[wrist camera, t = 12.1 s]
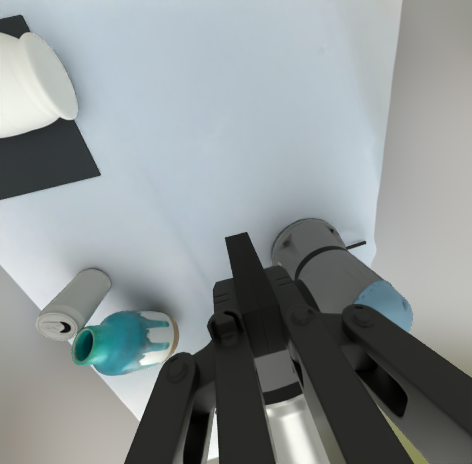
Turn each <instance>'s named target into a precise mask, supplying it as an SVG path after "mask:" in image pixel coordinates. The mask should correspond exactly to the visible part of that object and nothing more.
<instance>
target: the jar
mask: <svg viewBox="0 0 472 464" xmlns="http://www.w3.org/2000/svg"><path fill="white" fill-rule="evenodd" d="M77 113H78V104H77V99H76V95H75V91H74V89H73V86H72V83H71V81H70V79H69V77H68V75H67V73H66V71H65V69H64V67H63V65H62V63H61V62H60V60H59V59H58V57H57V56H56V54H55V53H54V52H53V50H52V49H51V48H50V47H49V45H48V44H47V43H46V42H45V41H44V40H43V39H42V38H40V37H39V36H37V35H36V34H34V33H30V32H27V33H24V34H23V35H22V36H21V37H20V39H18V38H15V37H13V36H10V35H7V34H4V33H1V32H0V138H5V137H11V136H15V135H19V134H23V133H26V132H29V131H31V130H35V129H39V128H42V127H45V126H47V125H49V124H51V123H53V122H54V121H56V120H57V119H58V118H59V117H61V118H63V119H66V120H73V119H75V118H76V116H77Z"/></svg>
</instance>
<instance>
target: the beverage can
mask: <svg viewBox="0 0 472 464" xmlns="http://www.w3.org/2000/svg"><path fill="white" fill-rule="evenodd" d="M110 287H111V282H110V279H109V278H108V276H107V275H106V274H104V273H103V272H101V271H98V270H94V269H87V270H84V271H82V272H80V273H79V274H78V275H77V276H76V277H75V278H74V279H73V280H72V281H71V282H70V283H69V284H68V285H67V286H66V287H65V288H64V289H63V290H62V291H61V292H60V293H59V294H58V295H57V296H56V297H55V298H54V299H53V300H52V301H51V302H50V303H49V304H48V305H47V306H46V307H45V308H44V309H43V310H42V311H41V312H40V315H39V318H38V319H37V321H36V328H37V330H38V331H39V333H40V334H42V335H43V336H45V337H47V338H49V339H52V340H57V341H63V340H68V339H71V338H73V337H74V336H75V335H76V334H77V333H78V332H79V331H80V330H81V329H83V328H84V326H85V325H86V323H87V322H88V320H89V319H90V317H91V316H92V315H93V313H94V312H95V310H96V309H97V307H98V306H99V304H100V303H101V301H102V300H103V298H104V297H105V295H106V294H107V292H108V291H109V289H110Z"/></svg>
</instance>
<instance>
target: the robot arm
mask: <svg viewBox="0 0 472 464" xmlns="http://www.w3.org/2000/svg"><path fill="white" fill-rule="evenodd" d="M225 241H226V245H227V250H228V255H229V259H230V264H231V269H232V274H233V278H230V279H226V280H223V281H219V282H216V284H215V286H214V288H213V298H214V299H213V302H214V314H213V315H212V316H211V318H210V319H209V321H208V325H207V328H208V331H209V333H210V336H211V338H212V340H211V342H210V343H209V344H208V345H207V346H206V347H205V348H203V349H202V350H200V351H199V352H197V353H195V354H194V355H191V354H190V353H186V352H181V353H177V354H175V355H174V356H172V357H170V358H169V359H168V360H167V361H166V362H165V363H164V365H163V367H162V368H161V370H160V372H159V375H158V378H157V380H156V383H155V385H154V388H153V390H152V393H151V396H150V398H149V401H148V403H147V406H146V408H145V411H144V414H143V416H142V419H141V421H140V424H139V426H138V429H137V432H136V434H135V437H134V439H133V442H132V444H131V447H130V450H129V452H128V455H127V457H126V460H125V463H124V464H207V458H208V451H209V444H210V437H211V431H212V424H213V417H214V411H215V408H216V410H217V429H218V448H219V464H414V463H413V461H412V460H411V458H410V457H409V455H408V453H407V452H406V450H405V449H404V447H403V446H402V444H401V443H400V441H399V439H398V438H397V436H396V435H395V433H394V431H393V430H392V428H391V427H390V425H389V424H388V422H387V421H386V419H385V417H384V416H383V414H382V413H381V411H380V410H379V408H378V407H377V405H378V406H379V407H380V408H381V409H382V411H383V412H384V413H385V414H386V415H387V416H388V417H389V418H390V419H391V421H392V422H393V423H394V424H395V425H396V426H397V427H398V428H399V430H400V431H401V432H402V433H403V434H404V435H405V436H406V437H407V439H408V440H409V441H410V442H411V443H412V444H413V445H414V446H415V447H416V449H417V450H418V451H419V452H420V453H421V454H422V455H423V456H424V458H425V459H426V460H427V461H428V462H429V463H430V464H472V378H471V377H470V376H468V375H467V374H465V373H464V372H463V371H461V370H460V369H458V368H457V367H455V366H454V365H453V364H451V363H450V362H449V361H447V360H446V359H444V358H443V357H441V356H440V355H439V354H437V353H436V352H435V351H433V350H432V349H430V348H429V347H427V346H426V345H425V344H423V343H422V342H420V341H419V340H418V339H416V338H415V337H413V336H412V335H411V334H409V331H410V329H411V326H412V321H413V313H412V309H411V306H410V304H409V303H408V301H407V300H406V299H405V298H404V297H403V296H402V295H401V294H400V293H399V292H398V291H396V290H395V288H393V287H392V285H391V284H390V283H389V282H388V281H386V280H384V279H382V278H381V277H380V276H379V275H377V274H376V273H375V272H374V271H372V270H371V269H370V268H369V267H367V266H366V265H365V264H364V263H362V262H361V261H360V260H359V259H357V258H356V257H355V256H354V255H352V254H351V253H350V252H349V251H347V250H348V249H352V248H355V247H358V246H361V245H364V244H366V241H363V242H360V243H357V244H354V245H351V246H347V247H345V245H344V243H343V241H342V239H341V237H340V235H339V233H338V232H337V231H336V230H335V229H334V228H333V227H332V226H331V225H329V224H328V223H327V222H325V221H322V220H319V219H304V220H300V221H297V222H295V223H293V224H291V225H290V226H288V227H287V228H286V229H284V230H283V231H282V232H281V233H280V235H279V236H278V237H277V239H276V241H275V243H274V245H273V248H272V262H273V265H274V266H273V267H269V268H265V269H263V267H262V264H261V262H260V260H259V258H258V255H257V253H256V251H255V249H254V246H253V244H252V242H251V240H250V238H249V235H248V233H247V232H245V233H241V234H237V235H233V236H229V237H225ZM376 404H377V405H376Z"/></svg>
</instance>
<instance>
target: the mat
mask: <svg viewBox="0 0 472 464" xmlns="http://www.w3.org/2000/svg"><path fill="white" fill-rule="evenodd" d="M0 32H1V33H4V34H7V35H10V36H13V37H15V38H18V39H20V37H21V36H22V35H23V34H24V33H27V32H30V31H29V28H28V26H27V24H26V22H25V20H24V18H23V16H22V15H18V16H13V17H8V18H3V19H0ZM100 175H101V174H100V172H99V170H98V168H97V166H96V164H95V162H94V160H93V158H92V156H91V154H90V152H89V150H88V148H87V146H86V144H85V142H84V140H83V138H82V136H81V134H80V132H79V130H78V128H77V126H76V124H75V122H74V120H66V119H63V118H61V117H59V118H58V119H57V120H56V121H54V122H53V123H51V124H49V125H47V126H45V127H42V128H39V129H35V130H31V131H29V132H26V133H23V134H19V135H15V136H11V137H5V138H0V200H2V199H6V198H10V197H14V196H18V195H22V194H26V193H30V192H35V191H39V190H43V189H47V188H51V187H55V186H59V185H63V184H67V183H72V182H76V181H80V180H84V179H88V178H92V177H96V176H100Z"/></svg>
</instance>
